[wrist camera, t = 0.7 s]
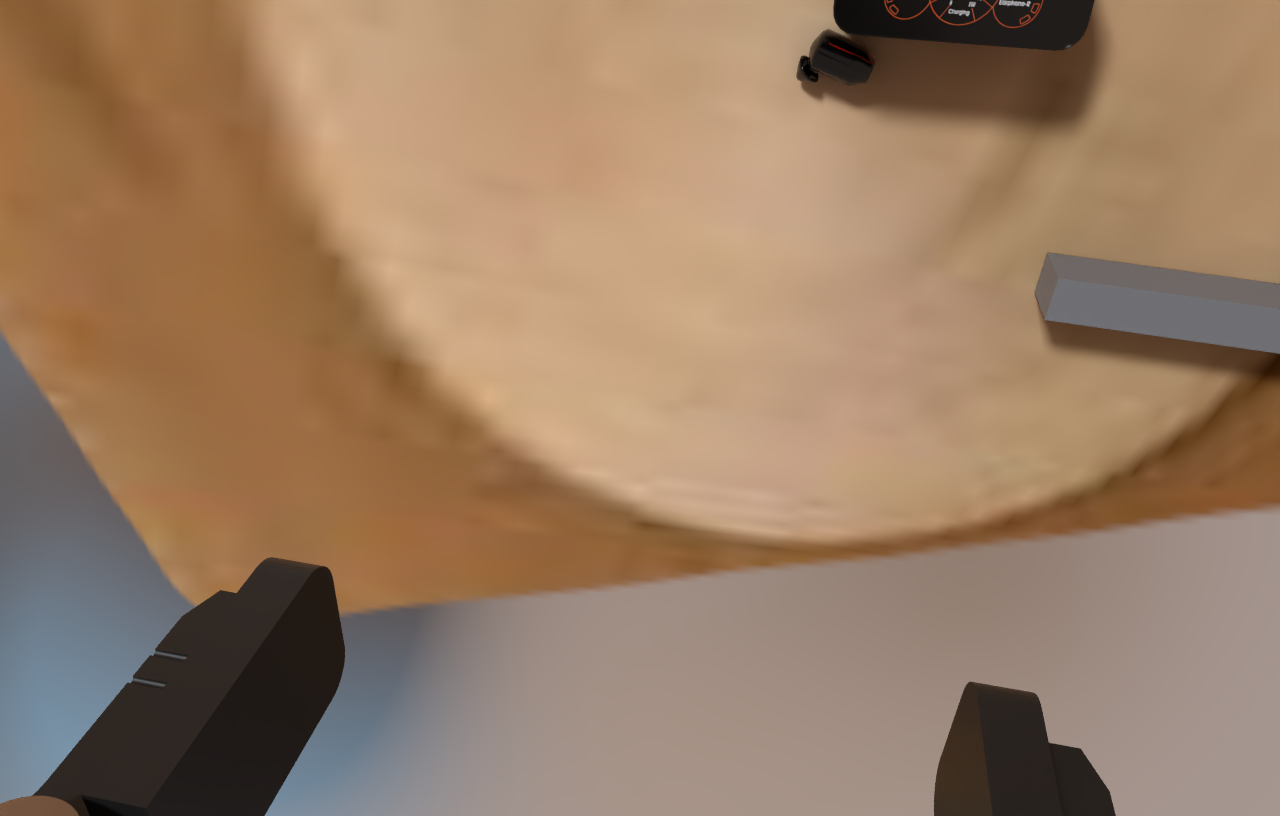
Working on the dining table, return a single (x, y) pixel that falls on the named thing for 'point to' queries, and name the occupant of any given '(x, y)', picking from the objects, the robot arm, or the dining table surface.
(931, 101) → the dining table surface
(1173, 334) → the slot rails
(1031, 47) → the wireless earbuds
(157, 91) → the dining table surface
